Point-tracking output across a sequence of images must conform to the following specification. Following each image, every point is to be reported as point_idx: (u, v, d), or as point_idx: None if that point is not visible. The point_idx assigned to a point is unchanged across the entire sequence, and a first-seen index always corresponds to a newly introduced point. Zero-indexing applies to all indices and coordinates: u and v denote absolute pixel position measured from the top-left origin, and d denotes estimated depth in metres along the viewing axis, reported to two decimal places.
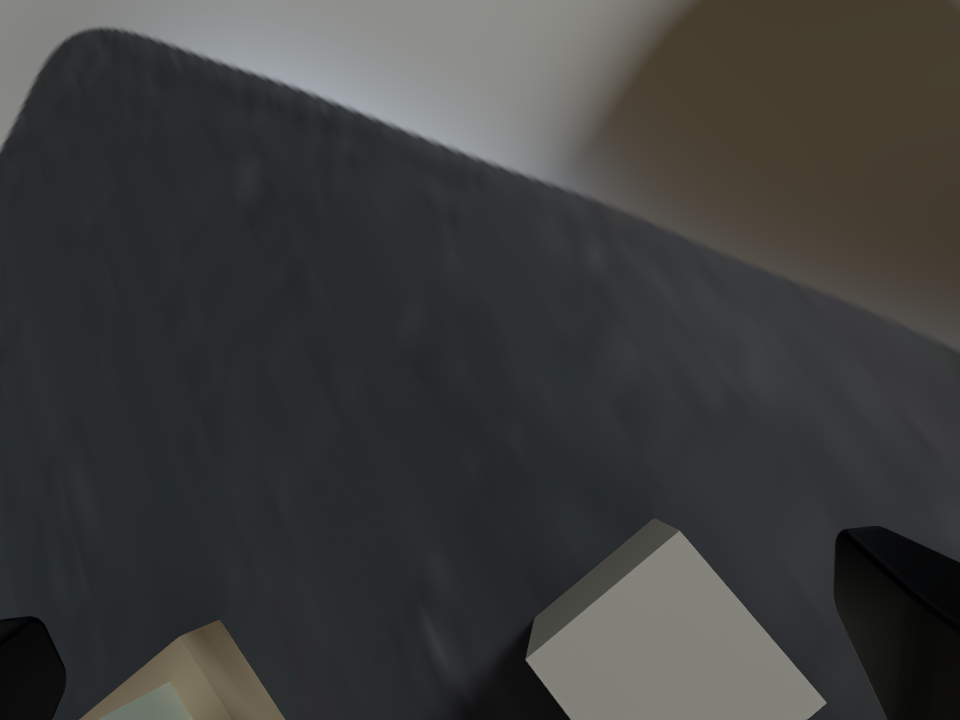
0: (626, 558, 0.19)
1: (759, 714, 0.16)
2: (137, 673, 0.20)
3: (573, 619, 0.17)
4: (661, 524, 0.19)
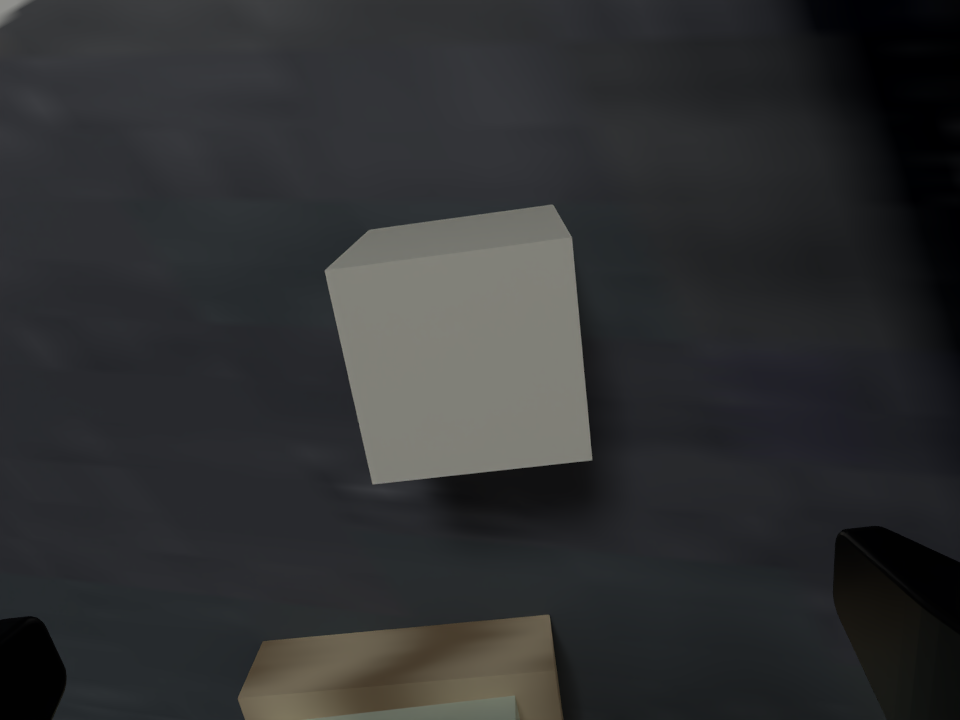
0: None
1: (542, 309, 0.14)
2: None
3: (360, 422, 0.15)
4: None
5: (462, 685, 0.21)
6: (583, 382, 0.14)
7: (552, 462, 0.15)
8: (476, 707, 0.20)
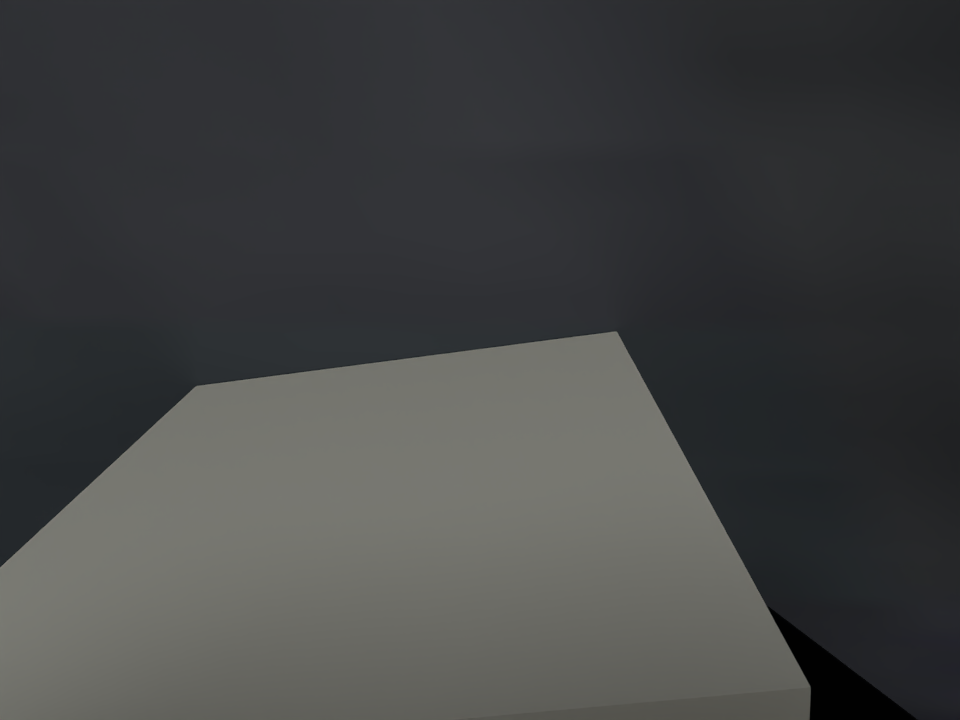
0: None
1: None
2: None
3: None
4: None
5: None
6: None
7: None
8: None
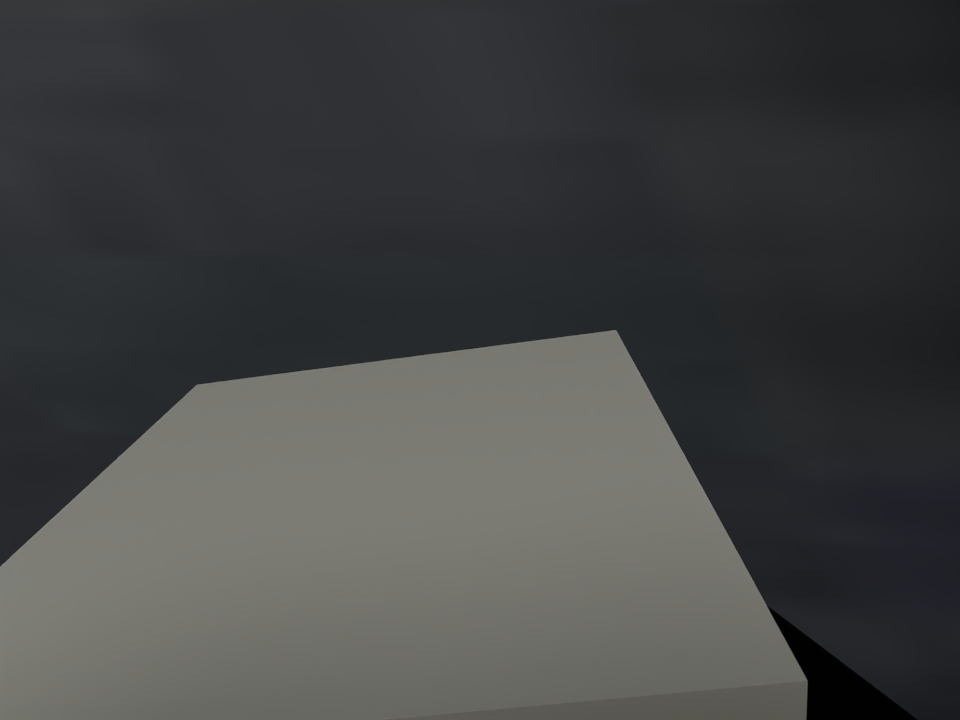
0: None
1: None
2: None
3: None
4: None
5: None
6: None
7: None
8: None
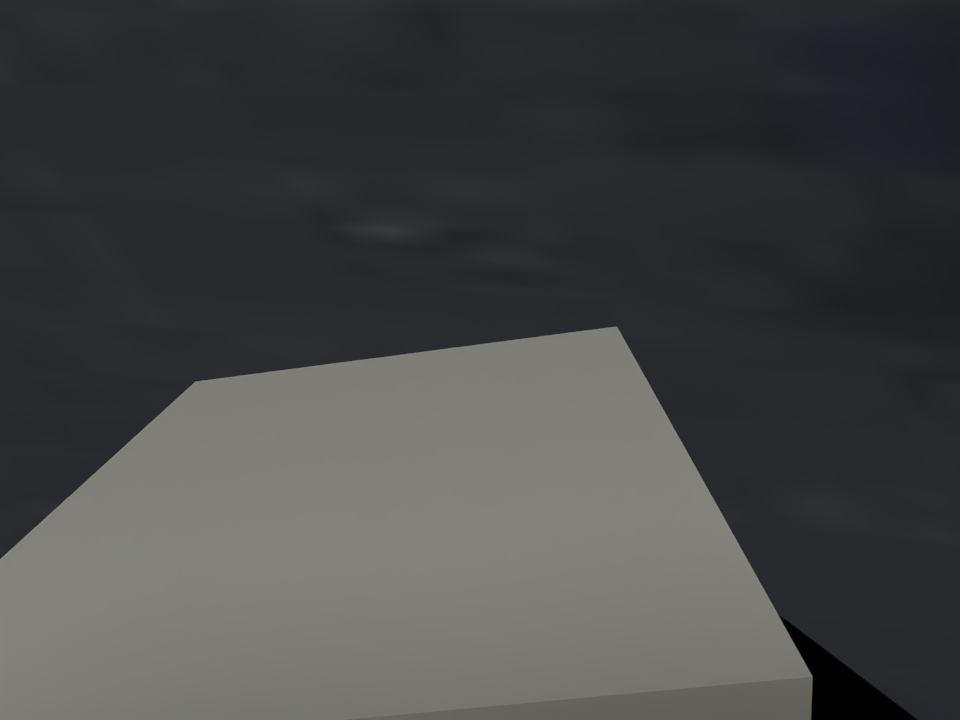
0: None
1: None
2: None
3: None
4: (88, 488, 0.06)
5: None
6: None
7: None
8: None
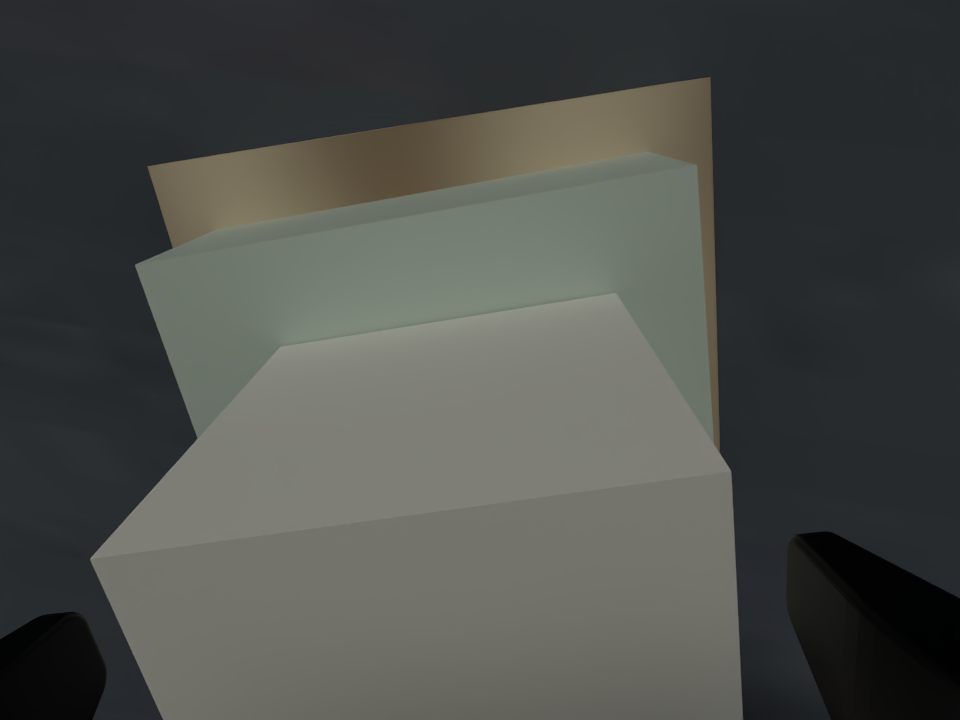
0: None
1: (647, 631, 0.05)
2: None
3: None
4: None
5: (542, 119, 0.12)
6: None
7: None
8: (582, 165, 0.12)
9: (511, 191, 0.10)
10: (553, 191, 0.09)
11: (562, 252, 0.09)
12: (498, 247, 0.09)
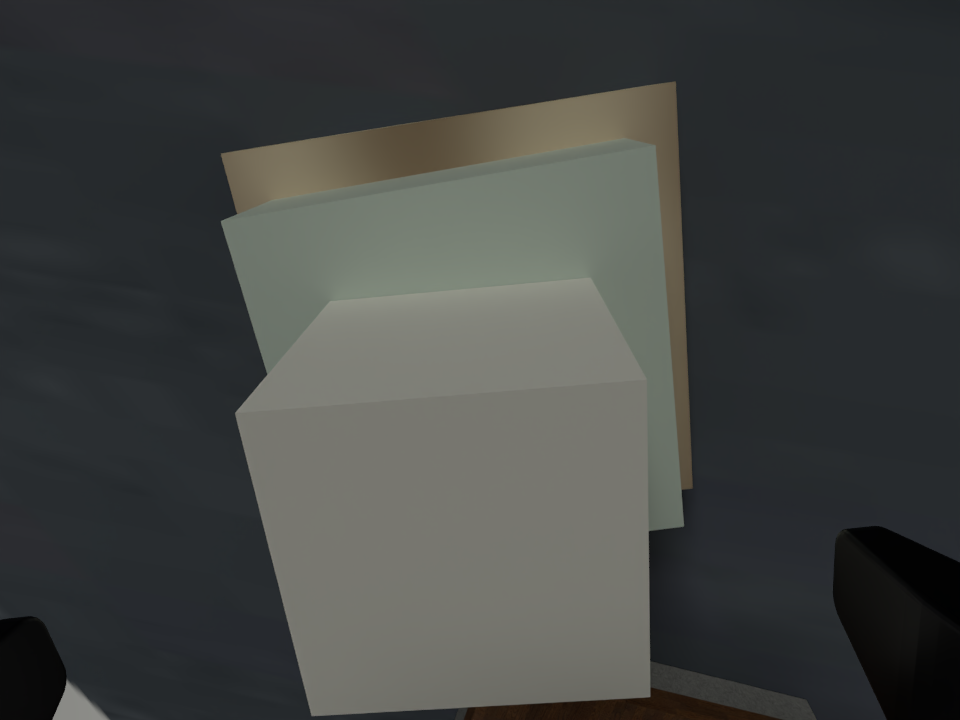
0: None
1: (590, 485, 0.08)
2: None
3: (293, 631, 0.09)
4: None
5: (541, 115, 0.14)
6: (646, 591, 0.09)
7: (588, 697, 0.10)
8: (571, 148, 0.14)
9: (513, 166, 0.13)
10: (545, 165, 0.12)
11: (552, 213, 0.12)
12: (502, 209, 0.12)
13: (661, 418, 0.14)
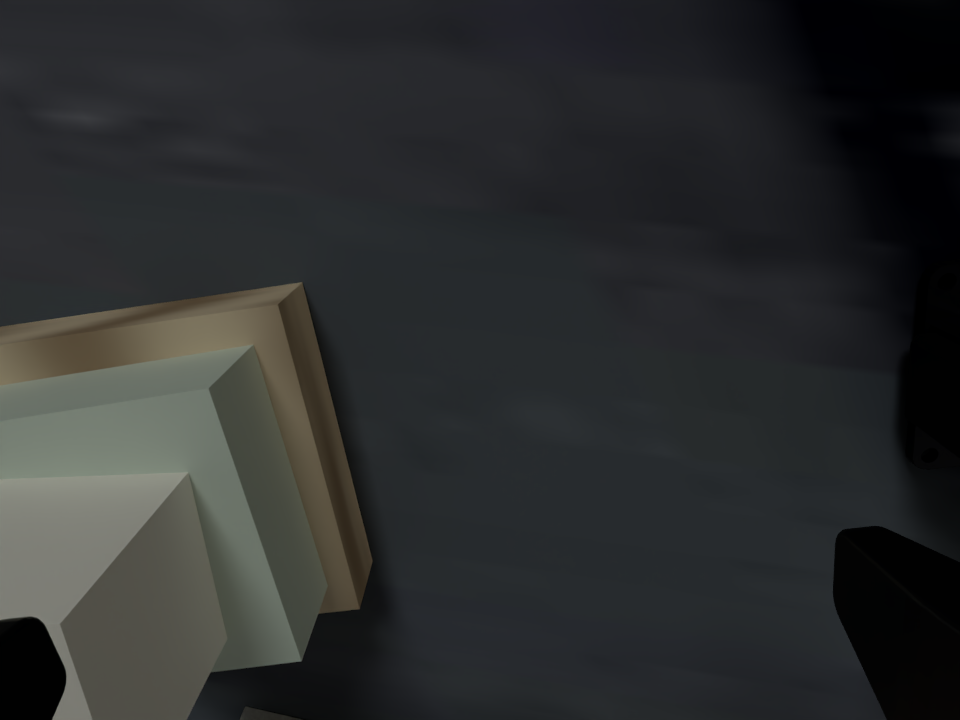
0: None
1: None
2: None
3: None
4: None
5: (175, 329, 0.18)
6: None
7: None
8: (206, 355, 0.18)
9: (120, 392, 0.16)
10: (127, 401, 0.15)
11: (141, 435, 0.15)
12: (101, 432, 0.15)
13: (263, 581, 0.17)
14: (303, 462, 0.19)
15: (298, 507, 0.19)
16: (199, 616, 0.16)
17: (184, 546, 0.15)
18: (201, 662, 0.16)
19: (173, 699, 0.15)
